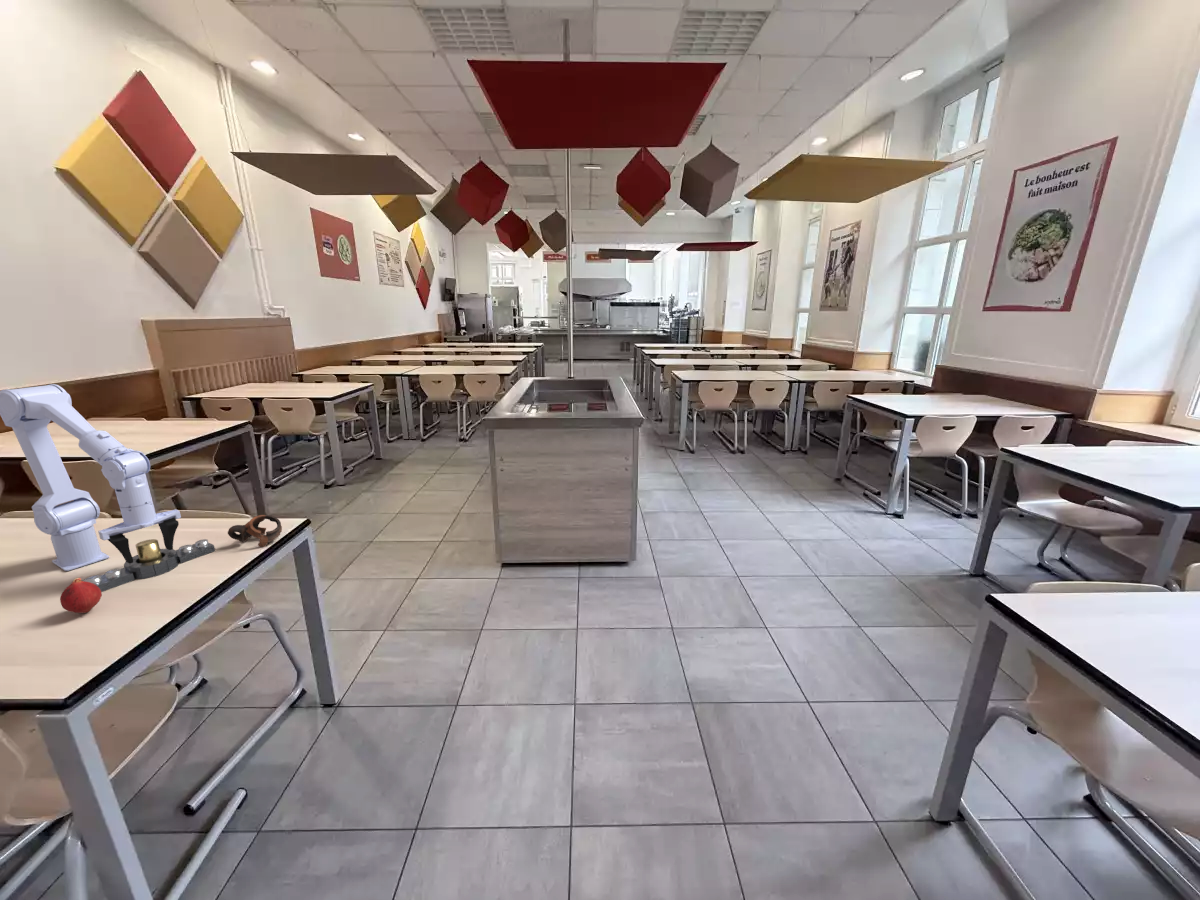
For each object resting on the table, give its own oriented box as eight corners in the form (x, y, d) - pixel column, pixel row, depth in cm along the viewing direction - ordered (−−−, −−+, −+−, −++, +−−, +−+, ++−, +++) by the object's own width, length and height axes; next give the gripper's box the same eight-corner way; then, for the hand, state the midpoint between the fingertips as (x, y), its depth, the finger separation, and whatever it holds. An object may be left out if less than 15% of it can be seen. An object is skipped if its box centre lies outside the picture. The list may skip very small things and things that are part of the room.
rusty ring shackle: (276, 531, 141) (282, 511, 138) (280, 556, 136) (286, 535, 132) (224, 533, 133) (229, 511, 129) (226, 559, 127) (231, 537, 124)
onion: (79, 622, 99) (68, 588, 96) (58, 619, 100) (46, 584, 97) (112, 606, 104) (102, 573, 102) (91, 603, 105) (81, 570, 103)
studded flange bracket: (78, 586, 111) (74, 575, 110) (201, 544, 131) (199, 534, 131) (95, 598, 107) (91, 586, 106) (219, 553, 127) (217, 542, 126)
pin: (140, 569, 119) (132, 543, 117) (161, 563, 122) (154, 537, 120) (145, 574, 117) (138, 548, 115) (167, 567, 120) (160, 541, 118)
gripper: (101, 517, 106) (117, 572, 110) (181, 496, 119) (193, 546, 122) (88, 511, 110) (105, 565, 113) (167, 491, 122) (180, 540, 126)
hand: (150, 555), depth 118 cm, fingers open, 7 cm apart
